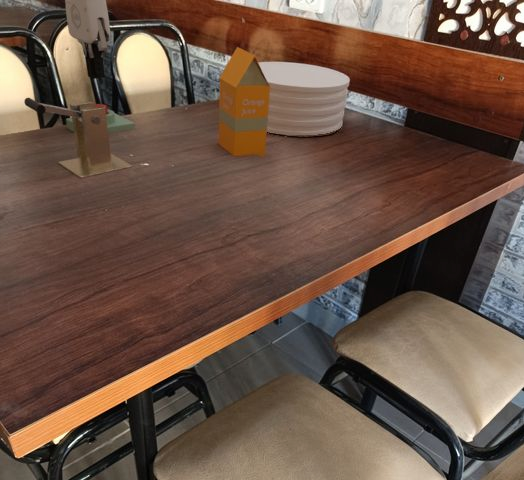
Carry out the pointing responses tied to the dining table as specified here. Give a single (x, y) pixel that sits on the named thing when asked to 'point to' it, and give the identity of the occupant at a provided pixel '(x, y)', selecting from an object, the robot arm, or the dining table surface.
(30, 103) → the lever
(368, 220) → the dining table surface
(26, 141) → the dining table surface
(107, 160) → the bracket
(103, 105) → the stop button
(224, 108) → the orange juice
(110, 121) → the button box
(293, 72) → the plate stack
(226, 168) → the dining table surface
